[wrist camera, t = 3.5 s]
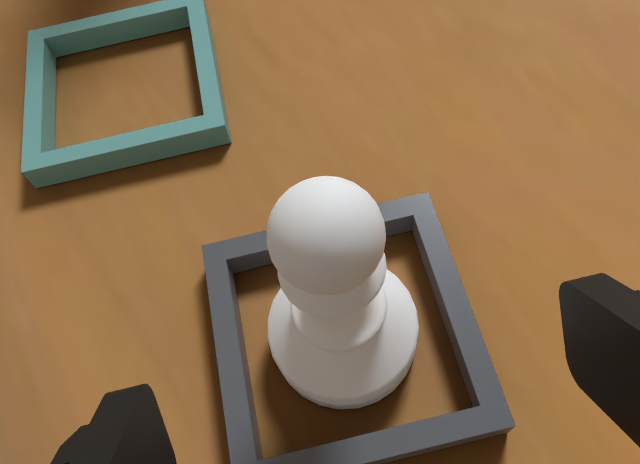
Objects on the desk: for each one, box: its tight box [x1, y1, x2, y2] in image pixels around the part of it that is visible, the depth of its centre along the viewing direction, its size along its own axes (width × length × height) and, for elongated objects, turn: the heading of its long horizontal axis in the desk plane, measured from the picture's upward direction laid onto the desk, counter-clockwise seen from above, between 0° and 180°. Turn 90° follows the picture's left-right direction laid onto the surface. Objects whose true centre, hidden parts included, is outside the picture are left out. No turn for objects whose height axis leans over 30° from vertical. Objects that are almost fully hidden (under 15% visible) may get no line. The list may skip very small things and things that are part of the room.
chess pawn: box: [267, 176, 419, 409], centre depth 16 cm, size 5×5×9 cm
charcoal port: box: [202, 192, 515, 464], centre depth 20 cm, size 9×9×1 cm
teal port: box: [21, 0, 231, 188], centre depth 26 cm, size 9×9×1 cm
